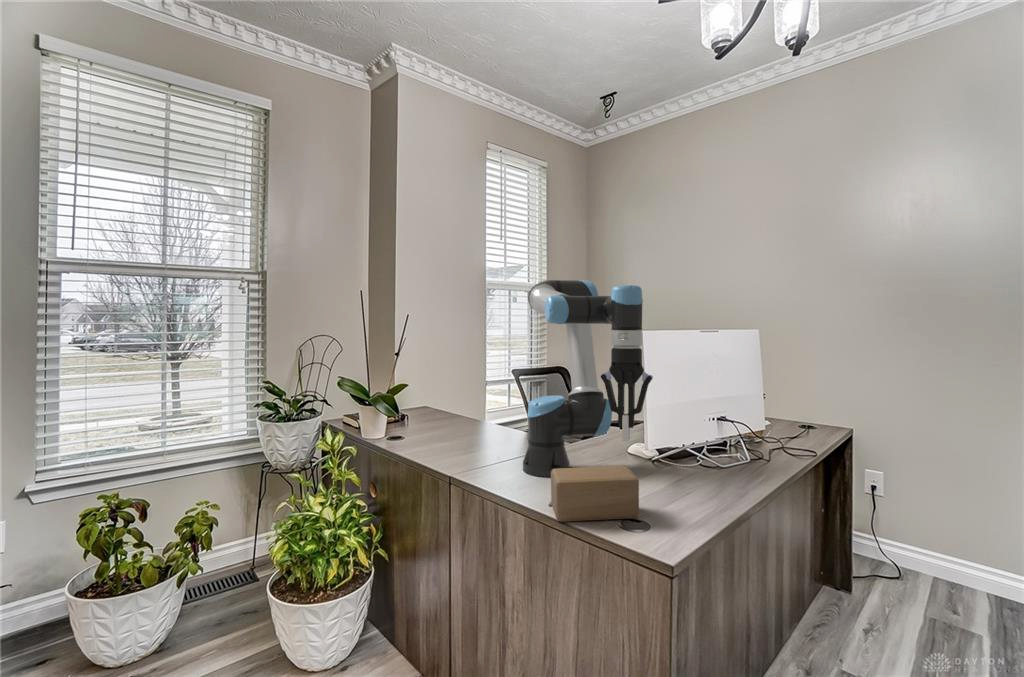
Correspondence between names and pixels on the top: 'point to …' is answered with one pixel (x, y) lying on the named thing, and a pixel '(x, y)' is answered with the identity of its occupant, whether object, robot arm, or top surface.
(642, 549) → the top surface
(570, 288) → the robot arm
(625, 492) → the block
